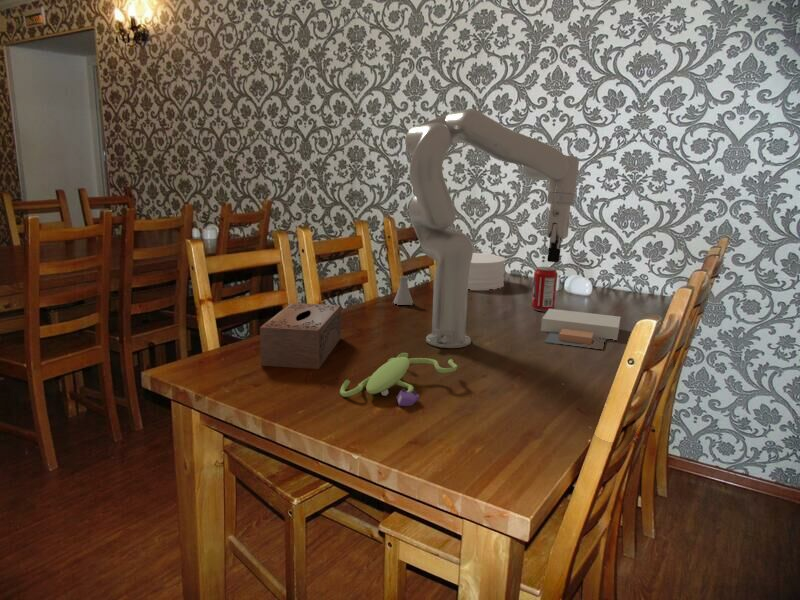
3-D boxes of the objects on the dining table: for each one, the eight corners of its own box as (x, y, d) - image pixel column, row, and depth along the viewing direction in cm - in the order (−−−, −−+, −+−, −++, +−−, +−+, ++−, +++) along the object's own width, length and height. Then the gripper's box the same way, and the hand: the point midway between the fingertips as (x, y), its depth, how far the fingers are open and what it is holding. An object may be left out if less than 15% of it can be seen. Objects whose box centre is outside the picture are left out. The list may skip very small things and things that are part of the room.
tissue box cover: (318, 370, 138) (318, 330, 136) (261, 366, 140) (259, 327, 138) (340, 339, 163) (340, 305, 161) (291, 336, 165) (291, 302, 163)
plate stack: (434, 288, 234) (435, 260, 231) (441, 276, 261) (442, 251, 258) (504, 292, 230) (505, 264, 227) (503, 279, 256) (505, 254, 254)
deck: (616, 340, 167) (618, 327, 166) (540, 331, 175) (541, 318, 174) (619, 329, 180) (620, 316, 179) (548, 320, 188) (549, 308, 187)
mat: (603, 350, 157) (603, 349, 157) (544, 342, 164) (544, 341, 163) (606, 339, 168) (606, 338, 168) (550, 332, 174) (550, 331, 174)
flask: (416, 304, 206) (417, 276, 204) (406, 307, 200) (407, 279, 198) (400, 301, 210) (400, 274, 208) (389, 304, 204) (389, 277, 202)
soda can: (545, 313, 196) (549, 270, 193) (527, 309, 202) (530, 267, 199) (558, 310, 202) (562, 268, 198) (540, 306, 207) (543, 265, 204)
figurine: (466, 380, 134) (467, 357, 133) (399, 418, 113) (400, 392, 112) (402, 363, 145) (403, 342, 143) (330, 395, 124) (330, 371, 122)
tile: (593, 332, 167) (593, 339, 167) (562, 328, 170) (561, 335, 170) (591, 338, 161) (591, 344, 162) (559, 333, 165) (558, 340, 165)
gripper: (570, 200, 158) (562, 266, 162) (577, 200, 171) (569, 260, 175) (543, 198, 161) (535, 262, 164) (552, 198, 174) (544, 257, 178)
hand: (553, 261), depth 170 cm, fingers closed
